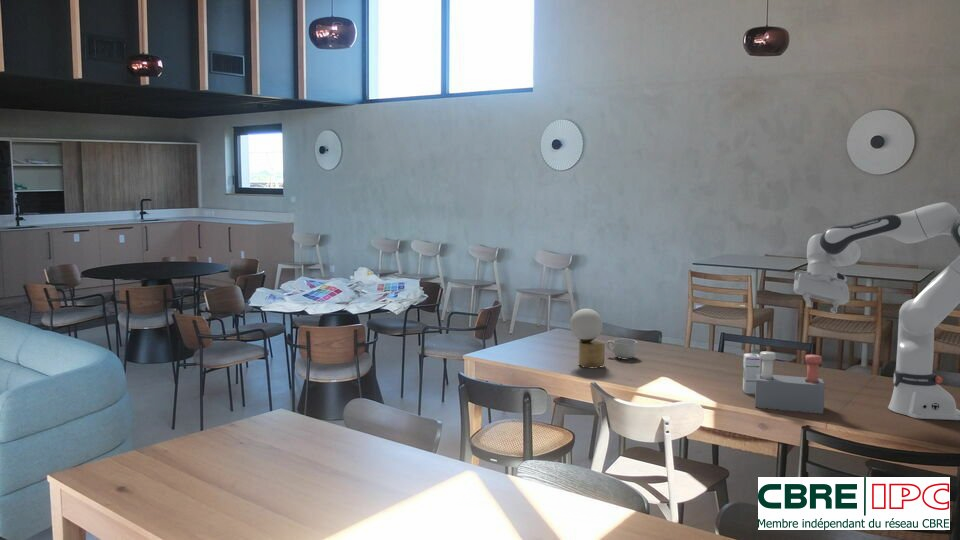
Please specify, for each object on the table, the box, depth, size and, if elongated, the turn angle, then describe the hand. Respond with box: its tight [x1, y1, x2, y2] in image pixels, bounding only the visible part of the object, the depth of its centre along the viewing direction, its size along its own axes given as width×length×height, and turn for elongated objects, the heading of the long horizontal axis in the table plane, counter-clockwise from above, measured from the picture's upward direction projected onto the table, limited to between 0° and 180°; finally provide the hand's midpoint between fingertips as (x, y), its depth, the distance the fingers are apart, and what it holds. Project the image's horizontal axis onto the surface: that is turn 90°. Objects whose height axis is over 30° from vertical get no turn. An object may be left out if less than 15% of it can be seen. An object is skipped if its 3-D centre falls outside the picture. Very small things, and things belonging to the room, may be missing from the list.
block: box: [754, 373, 826, 415], centre depth 271 cm, size 22×10×10 cm, turn 70°
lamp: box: [569, 308, 606, 368], centre depth 332 cm, size 15×14×25 cm
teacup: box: [605, 337, 638, 359], centre depth 348 cm, size 14×11×8 cm
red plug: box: [804, 354, 823, 383], centre depth 267 cm, size 5×5×14 cm
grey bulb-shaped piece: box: [759, 350, 777, 379], centre depth 272 cm, size 5×5×14 cm
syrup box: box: [742, 352, 762, 395], centre depth 289 cm, size 6×6×14 cm
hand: (821, 309), depth 272 cm, fingers open, 8 cm apart
